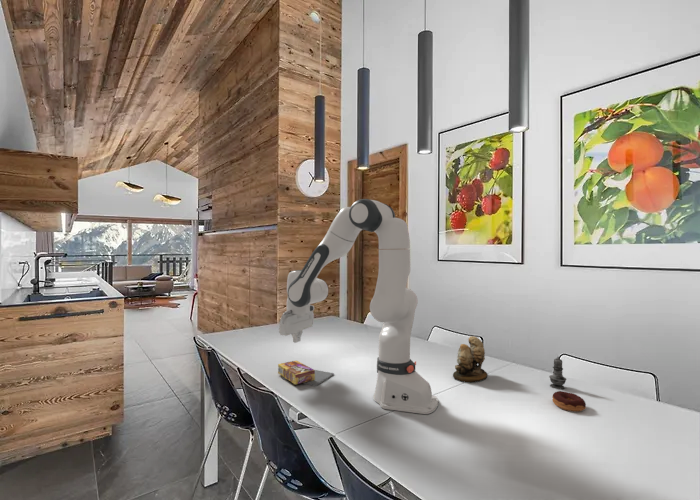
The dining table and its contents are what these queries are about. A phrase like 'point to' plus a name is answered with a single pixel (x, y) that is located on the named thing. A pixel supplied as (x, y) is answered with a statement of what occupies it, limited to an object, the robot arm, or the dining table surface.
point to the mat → (318, 377)
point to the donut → (568, 401)
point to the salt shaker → (557, 375)
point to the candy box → (296, 372)
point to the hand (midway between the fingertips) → (296, 341)
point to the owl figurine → (470, 362)
